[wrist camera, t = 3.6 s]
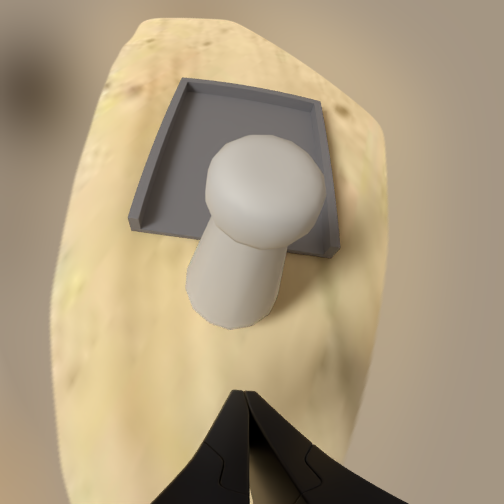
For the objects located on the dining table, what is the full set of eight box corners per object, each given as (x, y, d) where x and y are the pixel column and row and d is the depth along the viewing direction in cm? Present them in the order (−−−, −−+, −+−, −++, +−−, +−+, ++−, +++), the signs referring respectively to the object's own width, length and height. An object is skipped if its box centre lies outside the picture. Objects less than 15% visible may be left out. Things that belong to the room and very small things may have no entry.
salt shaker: (245, 351, 20) (323, 280, 8) (170, 309, 20) (146, 185, 9) (282, 281, 22) (367, 157, 11) (213, 243, 23) (239, 94, 11)
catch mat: (331, 258, 24) (340, 247, 23) (131, 230, 22) (127, 217, 20) (315, 113, 33) (320, 101, 31) (181, 90, 31) (182, 77, 29)
